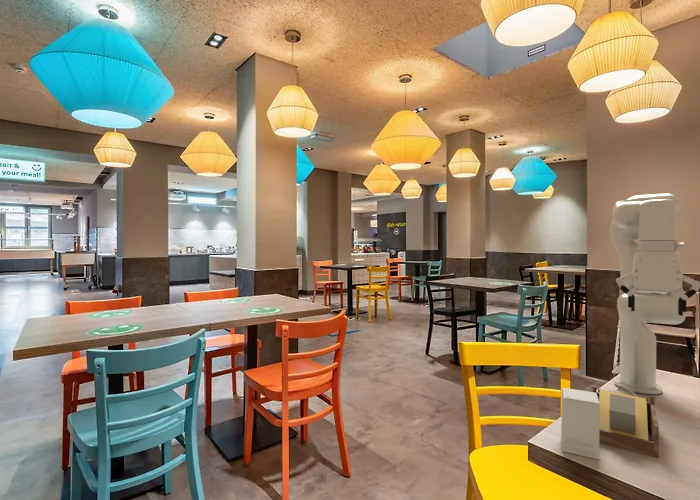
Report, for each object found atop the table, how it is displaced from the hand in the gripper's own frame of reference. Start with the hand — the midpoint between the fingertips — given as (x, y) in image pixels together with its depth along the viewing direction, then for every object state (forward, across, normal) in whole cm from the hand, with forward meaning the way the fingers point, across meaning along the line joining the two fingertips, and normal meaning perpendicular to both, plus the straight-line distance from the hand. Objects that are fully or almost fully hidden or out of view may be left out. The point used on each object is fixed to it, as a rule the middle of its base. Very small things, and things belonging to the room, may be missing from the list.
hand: (655, 312), depth 98 cm
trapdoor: (+26, +7, +10) cm, 29 cm away
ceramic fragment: (+31, +6, -14) cm, 35 cm away
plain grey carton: (+26, +6, +13) cm, 30 cm away
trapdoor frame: (+30, +7, +12) cm, 32 cm away
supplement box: (+29, +14, +26) cm, 41 cm away
